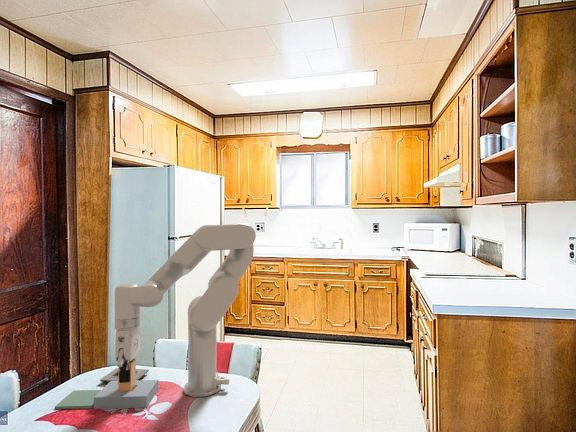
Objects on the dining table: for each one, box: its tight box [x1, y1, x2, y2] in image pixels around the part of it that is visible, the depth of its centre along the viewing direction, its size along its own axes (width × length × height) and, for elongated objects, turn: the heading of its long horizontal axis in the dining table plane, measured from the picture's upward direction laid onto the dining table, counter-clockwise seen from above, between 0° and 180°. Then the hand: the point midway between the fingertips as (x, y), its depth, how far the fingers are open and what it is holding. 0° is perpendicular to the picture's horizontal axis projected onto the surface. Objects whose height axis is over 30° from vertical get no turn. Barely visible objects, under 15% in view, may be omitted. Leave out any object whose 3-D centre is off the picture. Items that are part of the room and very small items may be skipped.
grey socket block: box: [93, 379, 159, 410], centre depth 121 cm, size 16×12×4 cm
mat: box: [54, 389, 102, 410], centre depth 120 cm, size 11×11×1 cm
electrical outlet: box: [99, 367, 150, 383], centre depth 137 cm, size 13×10×2 cm
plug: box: [118, 358, 137, 392], centre depth 121 cm, size 4×4×11 cm
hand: (127, 378), depth 121 cm, fingers closed on plug, 4 cm apart
